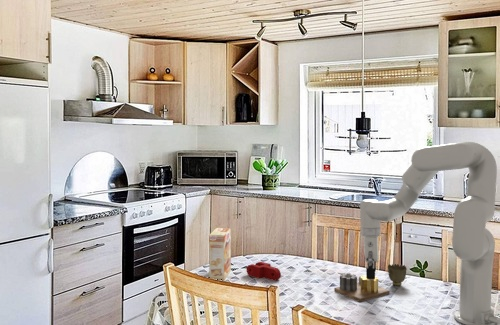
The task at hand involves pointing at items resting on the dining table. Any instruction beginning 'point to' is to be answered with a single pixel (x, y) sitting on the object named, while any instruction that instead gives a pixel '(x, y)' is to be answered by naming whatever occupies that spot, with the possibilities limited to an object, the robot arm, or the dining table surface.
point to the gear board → (362, 294)
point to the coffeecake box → (220, 253)
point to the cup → (397, 274)
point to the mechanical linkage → (263, 271)
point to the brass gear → (369, 285)
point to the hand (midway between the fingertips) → (371, 274)
